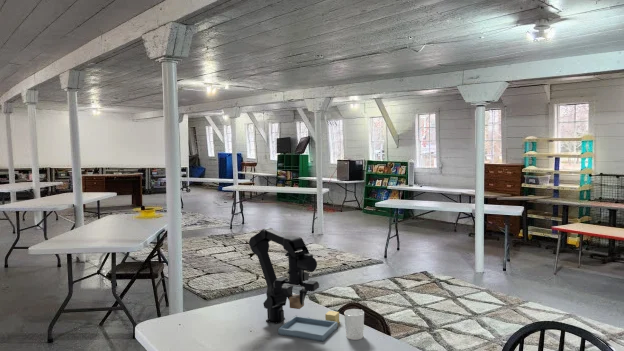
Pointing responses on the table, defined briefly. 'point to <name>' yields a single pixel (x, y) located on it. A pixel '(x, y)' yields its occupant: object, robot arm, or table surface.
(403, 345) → the table surface
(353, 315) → the white cup
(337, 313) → the ochre block
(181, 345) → the table surface
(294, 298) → the walnut block
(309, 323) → the slate tray
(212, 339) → the table surface
